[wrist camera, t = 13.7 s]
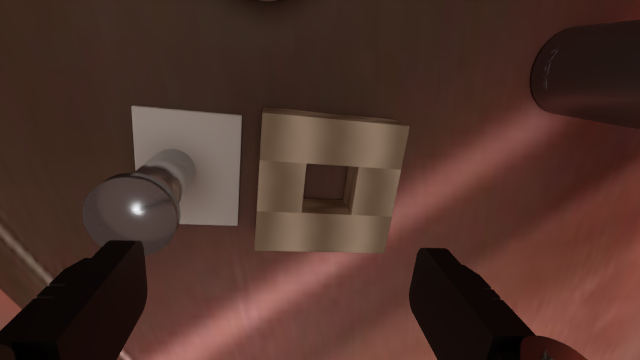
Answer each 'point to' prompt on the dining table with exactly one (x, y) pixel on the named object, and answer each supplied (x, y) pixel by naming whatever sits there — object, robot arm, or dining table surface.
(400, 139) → the bore housing
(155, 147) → the mat
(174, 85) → the dining table surface
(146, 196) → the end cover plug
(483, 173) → the dining table surface
